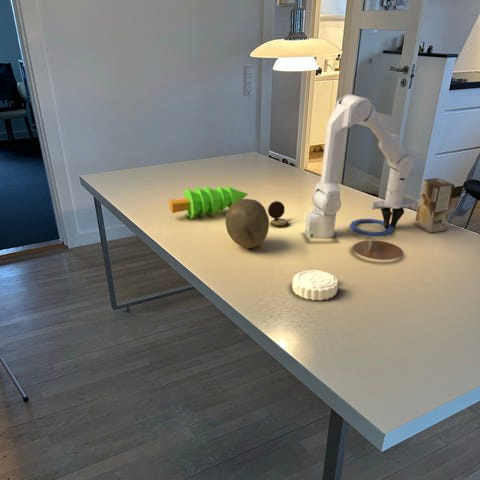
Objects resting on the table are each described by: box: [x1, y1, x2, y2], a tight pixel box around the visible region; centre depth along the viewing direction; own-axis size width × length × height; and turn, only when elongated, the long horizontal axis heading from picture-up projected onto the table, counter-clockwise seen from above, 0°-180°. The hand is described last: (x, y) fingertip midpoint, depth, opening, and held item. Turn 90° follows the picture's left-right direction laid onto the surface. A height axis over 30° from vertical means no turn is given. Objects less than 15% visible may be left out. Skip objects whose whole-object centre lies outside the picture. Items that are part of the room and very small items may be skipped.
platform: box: [352, 238, 404, 261], centre depth 152 cm, size 15×15×4 cm
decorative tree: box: [168, 185, 249, 220], centre depth 179 cm, size 11×12×30 cm
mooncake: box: [291, 269, 339, 301], centre depth 130 cm, size 12×12×4 cm
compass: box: [267, 200, 294, 228], centre depth 173 cm, size 8×8×7 cm
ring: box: [349, 218, 395, 237], centre depth 168 cm, size 14×14×2 cm
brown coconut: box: [225, 198, 270, 249], centre depth 153 cm, size 14×14×15 cm
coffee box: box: [414, 177, 455, 233], centre depth 169 cm, size 9×6×16 cm
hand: (388, 228), depth 169 cm, fingers closed on ring, 1 cm apart
